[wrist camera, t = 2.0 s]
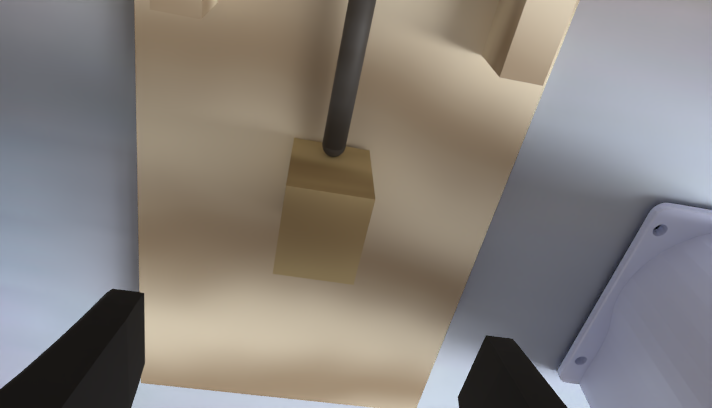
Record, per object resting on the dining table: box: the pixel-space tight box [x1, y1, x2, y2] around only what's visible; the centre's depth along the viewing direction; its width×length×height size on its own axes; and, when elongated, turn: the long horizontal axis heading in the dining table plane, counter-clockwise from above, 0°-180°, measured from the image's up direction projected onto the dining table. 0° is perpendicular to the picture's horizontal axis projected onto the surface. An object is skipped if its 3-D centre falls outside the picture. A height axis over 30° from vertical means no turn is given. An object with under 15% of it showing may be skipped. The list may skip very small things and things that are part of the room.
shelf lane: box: [134, 0, 580, 408], centre depth 13 cm, size 28×12×9 cm, turn 169°
